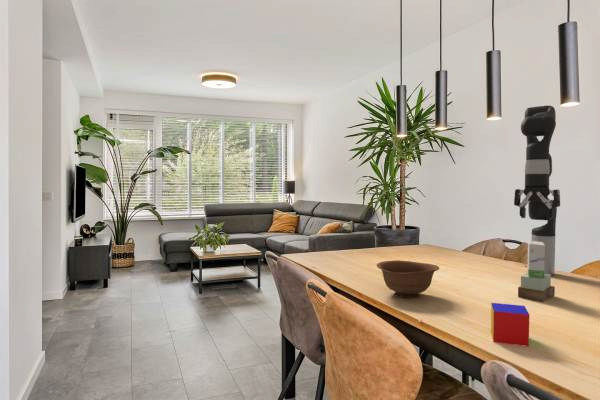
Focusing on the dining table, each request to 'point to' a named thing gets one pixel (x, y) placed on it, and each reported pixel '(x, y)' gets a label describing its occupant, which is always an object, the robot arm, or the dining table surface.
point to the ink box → (536, 259)
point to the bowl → (407, 277)
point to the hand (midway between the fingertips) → (536, 218)
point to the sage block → (535, 282)
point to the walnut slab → (536, 293)
